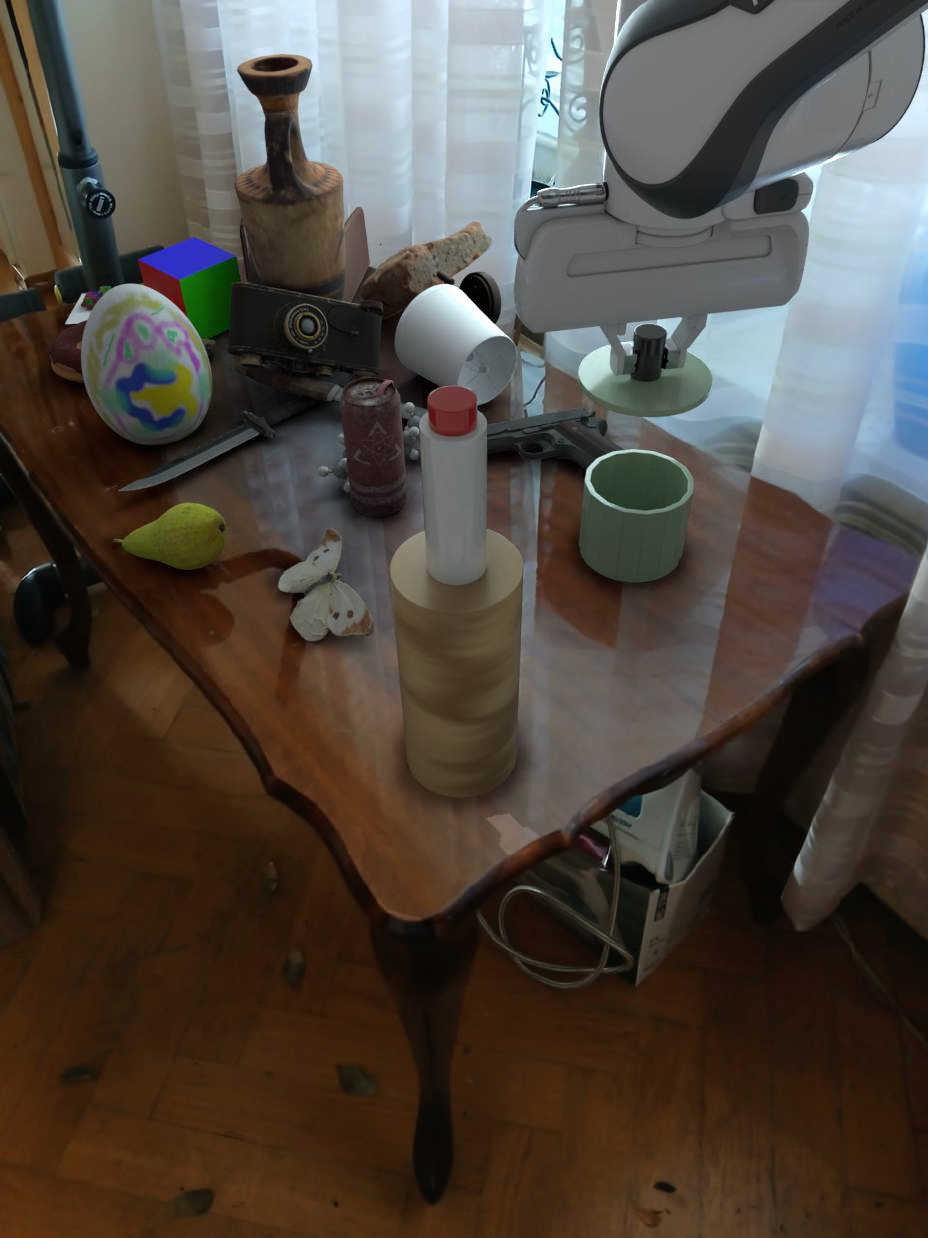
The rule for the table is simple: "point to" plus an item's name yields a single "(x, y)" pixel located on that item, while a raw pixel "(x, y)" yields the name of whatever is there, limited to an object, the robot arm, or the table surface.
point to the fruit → (180, 537)
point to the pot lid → (646, 379)
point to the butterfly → (325, 595)
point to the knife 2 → (304, 385)
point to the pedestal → (459, 668)
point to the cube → (195, 282)
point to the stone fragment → (423, 268)
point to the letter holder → (353, 246)
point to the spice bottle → (454, 485)
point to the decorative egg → (145, 366)
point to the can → (374, 445)
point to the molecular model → (408, 441)
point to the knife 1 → (223, 442)
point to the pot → (635, 515)
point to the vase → (291, 191)
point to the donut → (68, 353)
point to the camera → (304, 331)
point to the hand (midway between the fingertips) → (646, 368)
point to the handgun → (554, 436)
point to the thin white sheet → (86, 305)
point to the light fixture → (458, 336)
